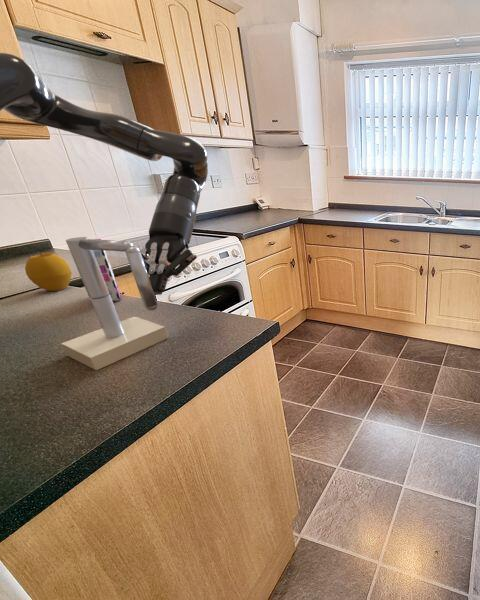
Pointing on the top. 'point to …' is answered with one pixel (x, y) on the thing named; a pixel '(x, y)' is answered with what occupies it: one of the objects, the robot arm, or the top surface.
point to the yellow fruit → (48, 271)
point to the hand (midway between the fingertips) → (154, 293)
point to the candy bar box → (107, 274)
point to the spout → (92, 273)
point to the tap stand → (113, 337)
